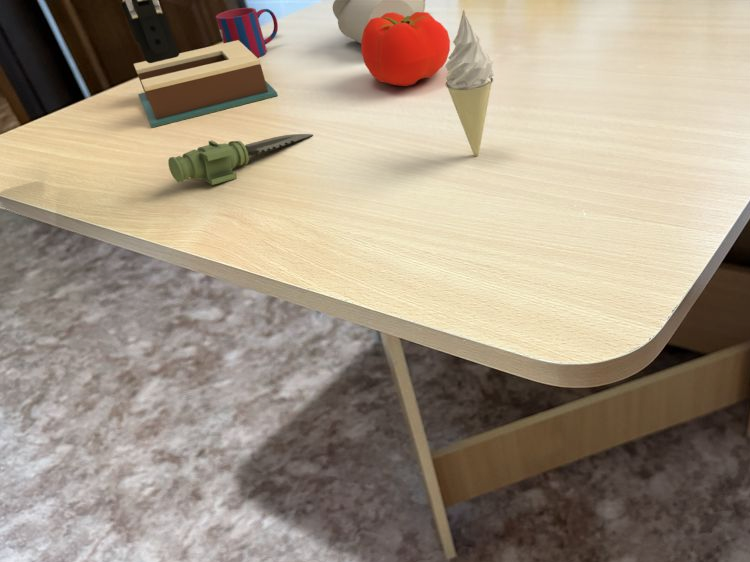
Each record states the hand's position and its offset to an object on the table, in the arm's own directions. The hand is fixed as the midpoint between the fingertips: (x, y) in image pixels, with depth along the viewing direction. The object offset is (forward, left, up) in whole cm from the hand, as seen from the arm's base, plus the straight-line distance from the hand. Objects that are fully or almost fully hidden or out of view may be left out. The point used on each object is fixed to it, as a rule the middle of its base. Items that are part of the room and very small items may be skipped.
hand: (157, 49), depth 71 cm
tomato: (+33, +15, -14) cm, 39 cm away
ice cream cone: (+28, -15, -14) cm, 35 cm away
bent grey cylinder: (+39, +38, -14) cm, 56 cm away
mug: (+18, +49, -14) cm, 54 cm away
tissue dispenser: (+6, +31, -14) cm, 34 cm away
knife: (+6, +1, -14) cm, 16 cm away
